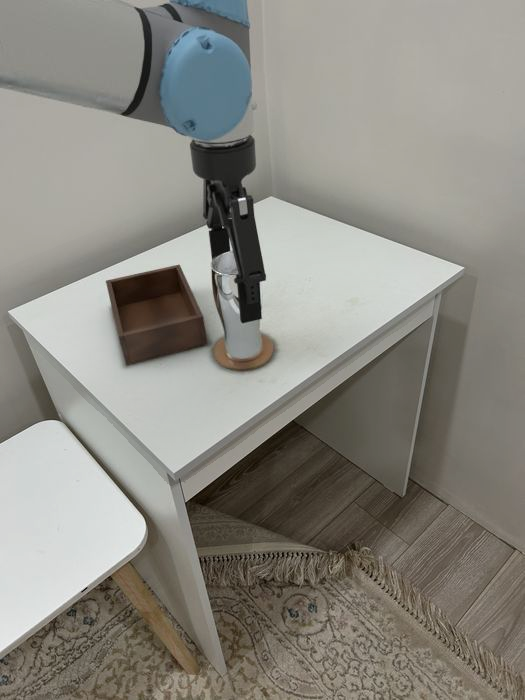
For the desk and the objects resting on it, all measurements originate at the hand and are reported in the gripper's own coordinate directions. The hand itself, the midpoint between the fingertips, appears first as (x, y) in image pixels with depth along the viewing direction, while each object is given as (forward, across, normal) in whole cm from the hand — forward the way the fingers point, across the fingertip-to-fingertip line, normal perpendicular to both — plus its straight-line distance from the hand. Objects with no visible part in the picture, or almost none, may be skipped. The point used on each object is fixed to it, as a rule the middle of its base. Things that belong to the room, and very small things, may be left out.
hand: (235, 293), depth 76 cm
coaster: (+10, 0, 0) cm, 11 cm away
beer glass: (+10, 0, 0) cm, 10 cm away
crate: (+11, +12, +11) cm, 19 cm away
